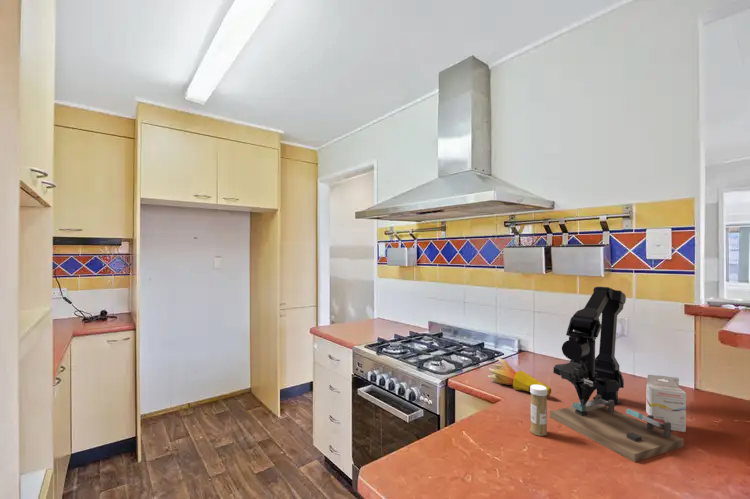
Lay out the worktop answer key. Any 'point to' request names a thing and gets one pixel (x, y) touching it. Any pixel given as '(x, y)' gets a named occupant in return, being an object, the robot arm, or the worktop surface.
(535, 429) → the sprinkles bottle
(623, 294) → the robot arm
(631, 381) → the worktop surface
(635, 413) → the bar
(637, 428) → the jig board
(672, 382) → the ink cartridge box
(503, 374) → the torch
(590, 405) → the bar
